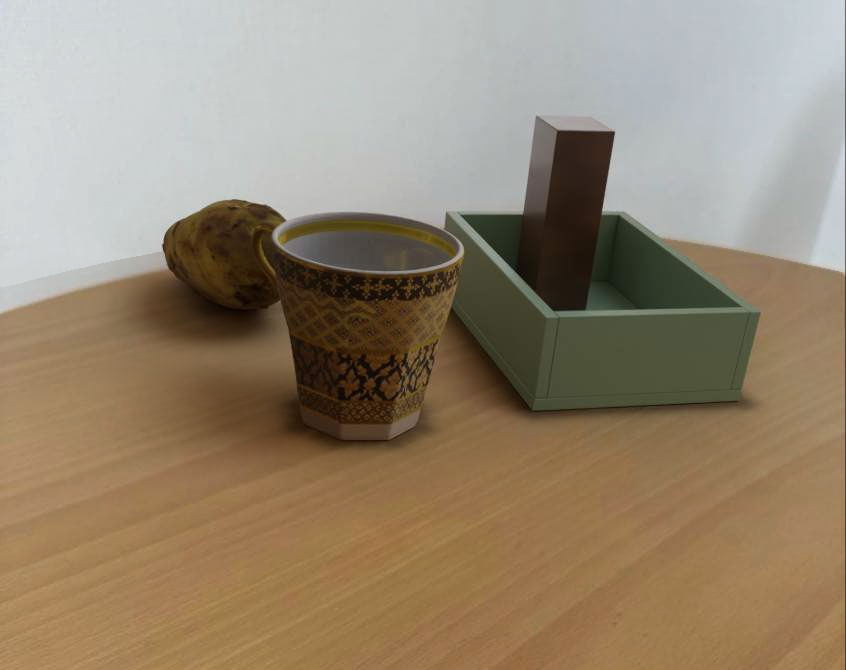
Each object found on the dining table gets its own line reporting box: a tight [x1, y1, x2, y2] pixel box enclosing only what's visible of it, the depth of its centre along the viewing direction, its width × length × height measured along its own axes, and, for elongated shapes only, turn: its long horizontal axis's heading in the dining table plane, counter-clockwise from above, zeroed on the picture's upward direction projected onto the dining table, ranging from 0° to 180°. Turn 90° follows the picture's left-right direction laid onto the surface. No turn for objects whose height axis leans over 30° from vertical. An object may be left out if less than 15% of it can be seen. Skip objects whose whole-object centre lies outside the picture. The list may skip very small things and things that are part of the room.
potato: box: [161, 198, 287, 311], centre depth 74 cm, size 8×13×8 cm, turn 13°
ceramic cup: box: [252, 211, 464, 441], centre depth 63 cm, size 13×10×10 cm
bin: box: [443, 210, 762, 412], centre depth 75 cm, size 14×20×6 cm
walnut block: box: [516, 114, 616, 311], centre depth 78 cm, size 4×4×12 cm
